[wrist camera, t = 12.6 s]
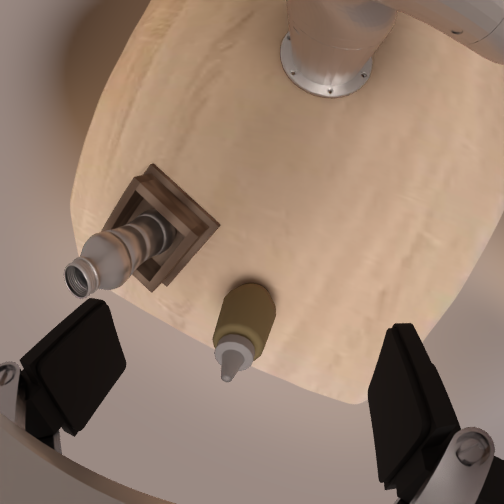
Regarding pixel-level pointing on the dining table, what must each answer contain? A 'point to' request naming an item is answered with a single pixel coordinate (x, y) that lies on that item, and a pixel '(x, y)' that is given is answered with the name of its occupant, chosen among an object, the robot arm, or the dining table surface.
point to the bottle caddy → (176, 212)
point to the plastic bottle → (118, 253)
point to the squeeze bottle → (242, 328)
